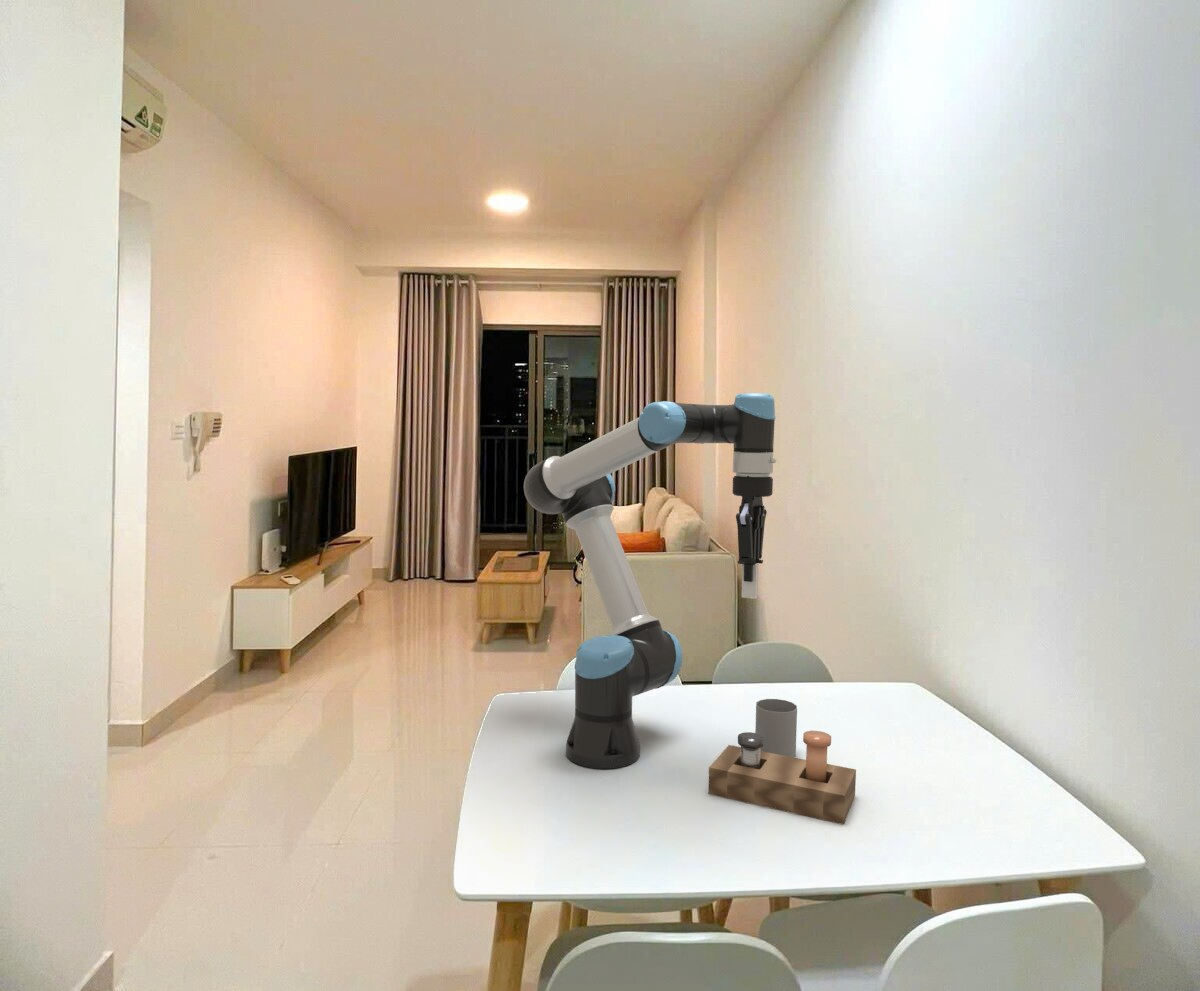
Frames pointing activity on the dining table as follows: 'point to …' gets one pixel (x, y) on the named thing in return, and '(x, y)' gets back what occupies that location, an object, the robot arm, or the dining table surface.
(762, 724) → the cup
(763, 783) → the socket block
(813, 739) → the plug terracotta
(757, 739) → the plug grey
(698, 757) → the dining table surface
